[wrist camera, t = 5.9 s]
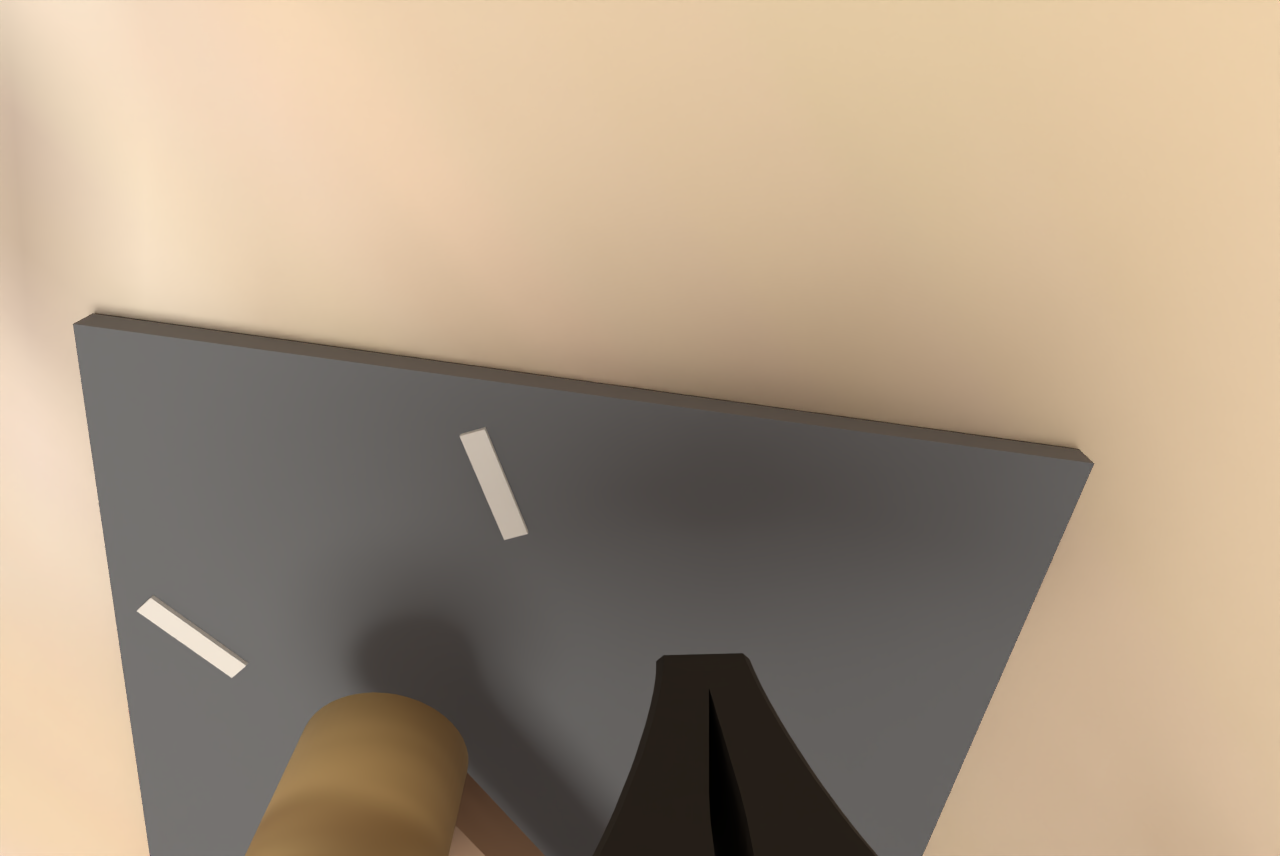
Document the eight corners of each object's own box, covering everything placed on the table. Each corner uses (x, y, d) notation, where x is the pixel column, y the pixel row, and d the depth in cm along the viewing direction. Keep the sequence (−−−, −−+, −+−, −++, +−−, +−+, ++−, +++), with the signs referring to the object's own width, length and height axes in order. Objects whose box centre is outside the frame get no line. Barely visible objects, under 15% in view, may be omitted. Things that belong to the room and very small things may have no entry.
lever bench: (821, 1053, 25) (841, 1156, 23) (184, 1003, 24) (136, 1108, 22) (1078, 449, 17) (1153, 518, 14) (92, 313, 15) (-6, 364, 13)
